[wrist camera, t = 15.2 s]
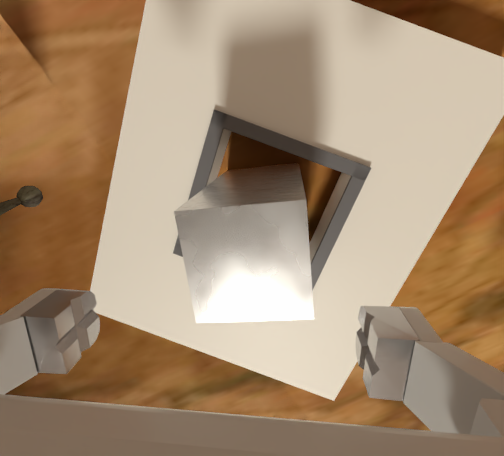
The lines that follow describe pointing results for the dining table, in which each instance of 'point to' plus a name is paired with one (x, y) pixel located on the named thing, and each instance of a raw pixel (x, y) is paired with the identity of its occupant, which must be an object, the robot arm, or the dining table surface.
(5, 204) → the tabletop clock
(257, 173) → the square peg
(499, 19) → the dining table surface
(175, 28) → the socket board
